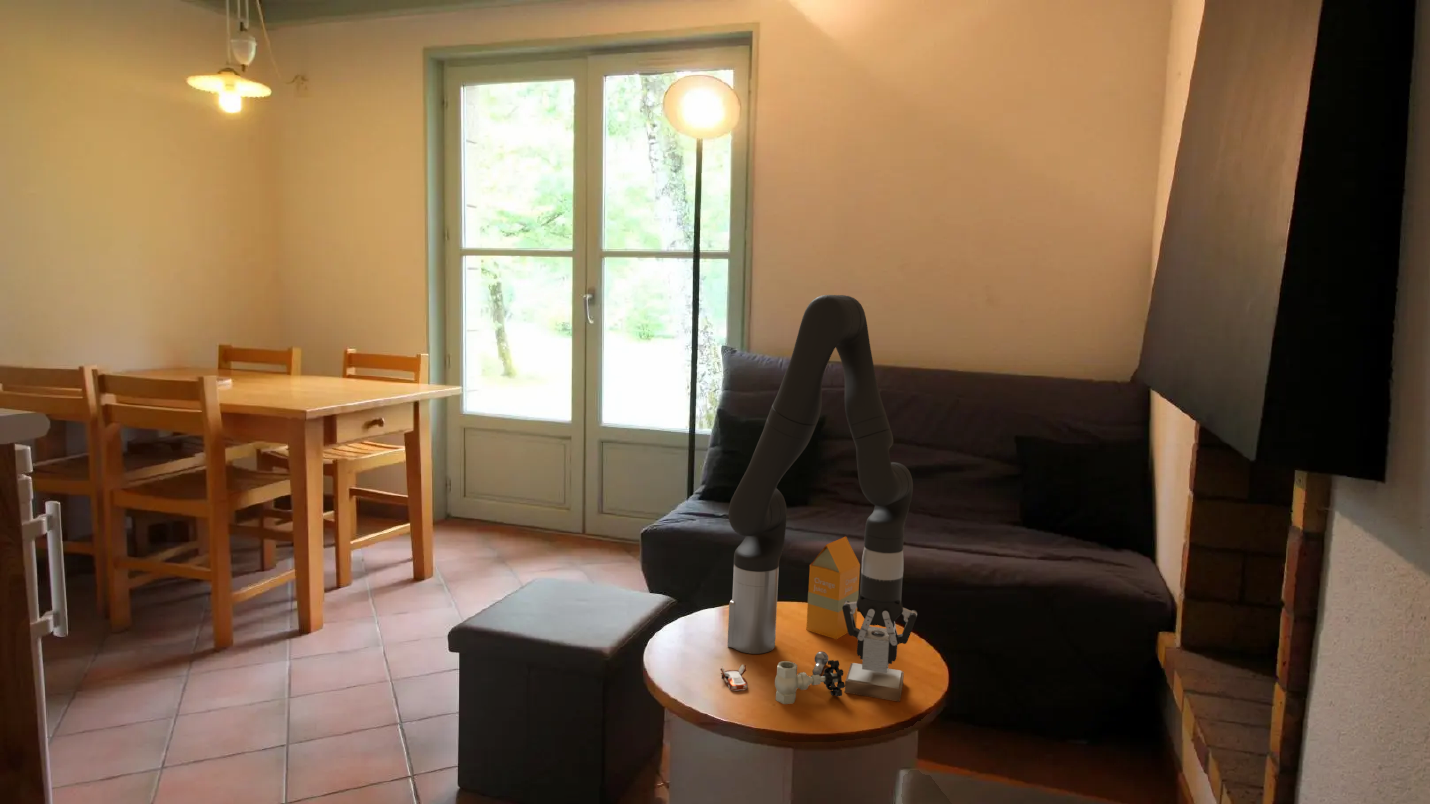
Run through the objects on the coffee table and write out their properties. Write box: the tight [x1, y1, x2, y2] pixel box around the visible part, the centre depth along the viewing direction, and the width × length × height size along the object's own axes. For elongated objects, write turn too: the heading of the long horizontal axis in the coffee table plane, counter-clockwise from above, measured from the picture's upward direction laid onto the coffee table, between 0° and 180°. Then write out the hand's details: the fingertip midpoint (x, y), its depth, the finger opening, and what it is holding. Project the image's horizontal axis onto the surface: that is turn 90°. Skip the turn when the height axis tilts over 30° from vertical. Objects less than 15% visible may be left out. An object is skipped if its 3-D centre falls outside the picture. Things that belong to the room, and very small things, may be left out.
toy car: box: [719, 663, 749, 692], centre depth 158 cm, size 5×8×3 cm, turn 14°
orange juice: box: [805, 536, 861, 640], centre depth 184 cm, size 8×9×20 cm
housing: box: [861, 625, 890, 673], centre depth 157 cm, size 4×6×6 cm
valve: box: [774, 659, 845, 705], centre depth 153 cm, size 7×7×12 cm
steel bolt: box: [812, 650, 829, 676], centre depth 165 cm, size 6×3×3 cm, turn 163°
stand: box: [844, 662, 905, 702], centre depth 158 cm, size 10×8×2 cm
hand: (876, 659), depth 158 cm, fingers closed on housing, 4 cm apart
